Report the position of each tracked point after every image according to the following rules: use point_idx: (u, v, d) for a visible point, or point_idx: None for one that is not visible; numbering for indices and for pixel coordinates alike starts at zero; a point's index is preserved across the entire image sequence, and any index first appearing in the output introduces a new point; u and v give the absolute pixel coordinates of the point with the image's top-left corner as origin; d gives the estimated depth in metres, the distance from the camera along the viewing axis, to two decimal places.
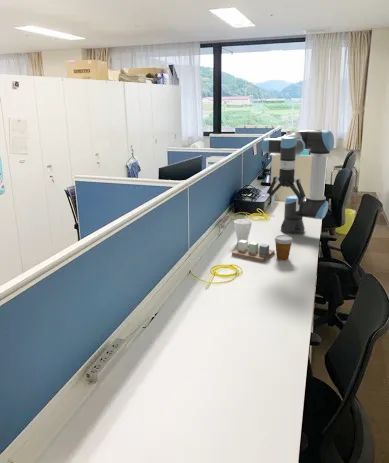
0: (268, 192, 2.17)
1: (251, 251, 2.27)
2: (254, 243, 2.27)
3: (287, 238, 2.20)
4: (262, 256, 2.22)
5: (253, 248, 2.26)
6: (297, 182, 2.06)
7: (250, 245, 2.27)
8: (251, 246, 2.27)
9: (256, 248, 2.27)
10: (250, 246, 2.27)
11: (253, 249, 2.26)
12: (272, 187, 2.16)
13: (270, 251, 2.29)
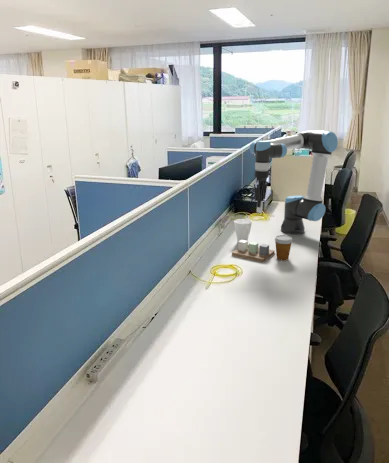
0: None
1: (251, 251, 2.27)
2: (254, 243, 2.27)
3: (287, 238, 2.20)
4: (262, 256, 2.22)
5: (253, 248, 2.26)
6: None
7: (250, 245, 2.27)
8: (251, 246, 2.27)
9: (256, 248, 2.27)
10: (250, 246, 2.27)
11: (253, 249, 2.26)
12: None
13: (270, 251, 2.29)
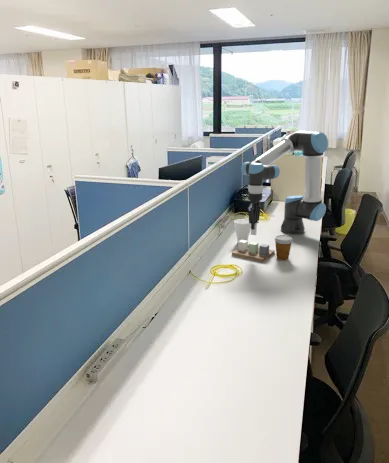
0: None
1: (251, 251, 2.27)
2: (254, 243, 2.27)
3: (287, 238, 2.20)
4: (262, 256, 2.22)
5: (253, 248, 2.26)
6: None
7: (250, 245, 2.27)
8: (251, 246, 2.27)
9: (256, 248, 2.27)
10: (250, 246, 2.27)
11: (253, 249, 2.26)
12: None
13: (270, 251, 2.29)
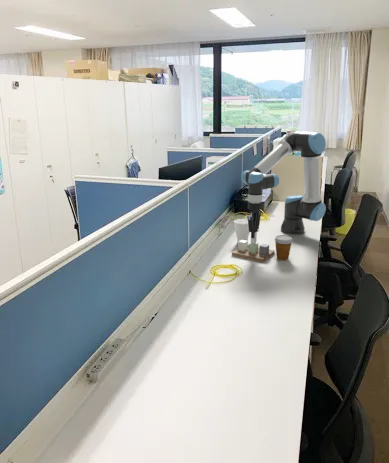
0: None
1: (251, 251, 2.27)
2: None
3: (287, 238, 2.20)
4: (262, 256, 2.22)
5: (253, 248, 2.26)
6: None
7: (250, 245, 2.27)
8: (251, 246, 2.27)
9: (256, 248, 2.27)
10: (250, 246, 2.27)
11: (253, 249, 2.26)
12: None
13: (270, 251, 2.29)
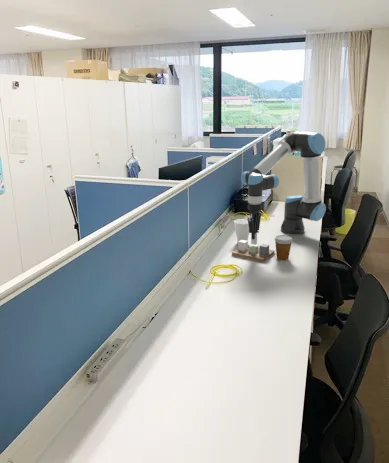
0: None
1: None
2: (254, 246, 2.28)
3: (287, 238, 2.20)
4: (262, 256, 2.22)
5: (253, 251, 2.27)
6: None
7: (250, 248, 2.27)
8: (251, 249, 2.27)
9: (256, 251, 2.28)
10: (250, 249, 2.27)
11: (253, 252, 2.27)
12: None
13: (270, 251, 2.29)
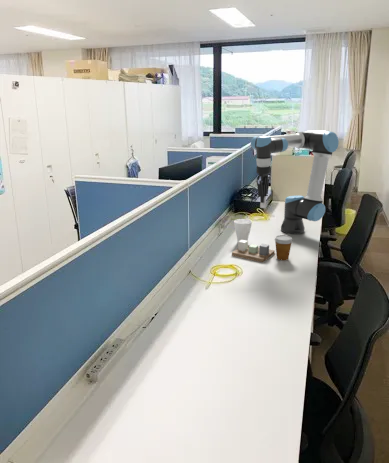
0: None
1: None
2: (254, 246, 2.28)
3: (287, 238, 2.20)
4: (262, 256, 2.22)
5: (253, 251, 2.27)
6: None
7: (250, 248, 2.27)
8: (251, 249, 2.27)
9: (256, 251, 2.28)
10: (250, 249, 2.27)
11: (253, 252, 2.27)
12: None
13: (270, 251, 2.29)
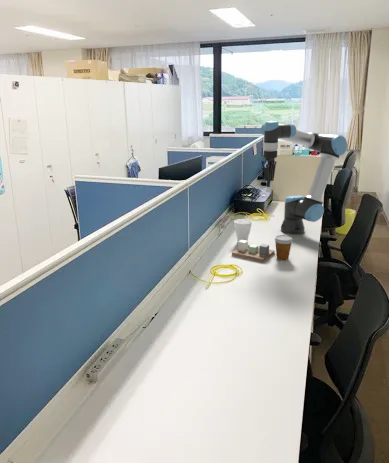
0: None
1: None
2: (254, 246, 2.28)
3: (287, 238, 2.20)
4: (262, 256, 2.22)
5: (253, 251, 2.27)
6: None
7: (250, 248, 2.27)
8: (251, 249, 2.27)
9: (256, 251, 2.28)
10: (250, 249, 2.27)
11: (253, 252, 2.27)
12: None
13: (270, 251, 2.29)
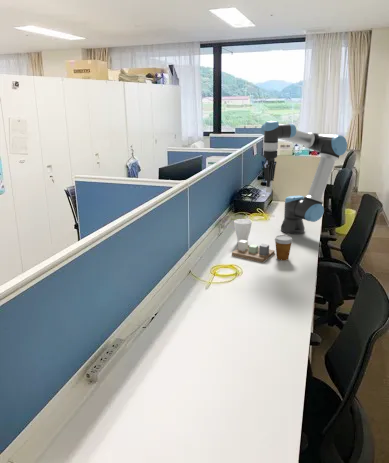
0: None
1: None
2: (254, 246, 2.28)
3: (287, 238, 2.20)
4: (262, 256, 2.22)
5: (253, 251, 2.27)
6: None
7: (250, 248, 2.27)
8: (251, 249, 2.27)
9: (256, 251, 2.28)
10: (250, 249, 2.27)
11: (253, 252, 2.27)
12: None
13: (270, 251, 2.29)
